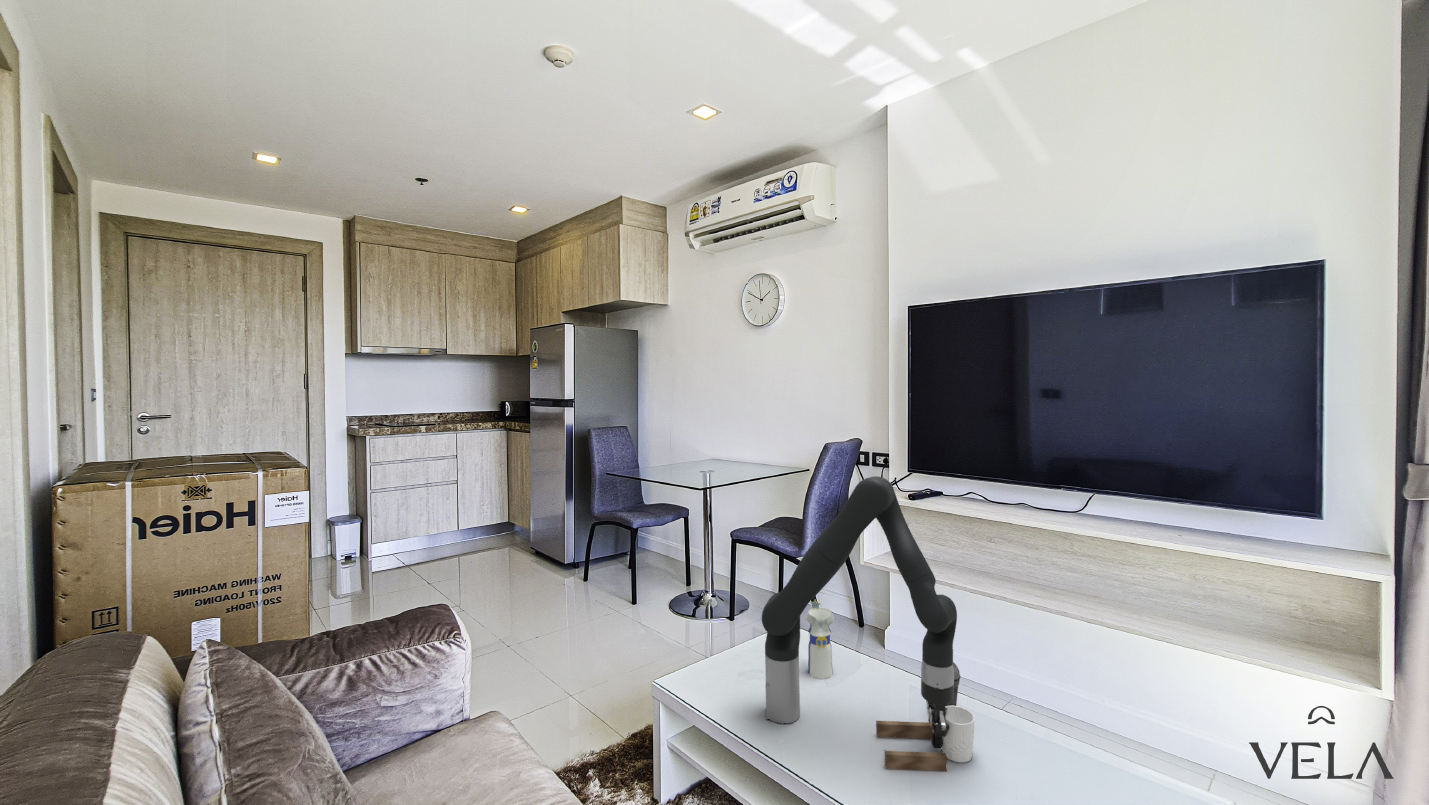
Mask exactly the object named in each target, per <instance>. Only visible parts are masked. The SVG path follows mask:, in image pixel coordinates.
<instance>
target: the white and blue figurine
mask: <svg viewBox="0 0 1429 805" xmlns="http://www.w3.org/2000/svg"><path fill="white" fill-rule="evenodd" d="M809 603H810V604H811V605H812V606H811V608H810V609H809V610H807V613H806V617H805V618H806V621H807V622H808V623H809V624H810V625H809V628H808V631H807V632H808V634H809V640H808V645H807V646H808V648H807V649H808V652H807V653H808V655H807V656H808V660H807V661H808V663H807V674H808V675H809V676H810V677H812V678H813V679H818V680H825V679H826V680H827V679H829V678H831V677H832V676H833V674H834V672H833V671H834V669H833V652H832V651H833V650H832V643H831V634H832V630H831V628H830V626H831V625H832V624H833V623H834V621H835V616H834V615H833V612H832V611H831V610H830V609H829V608H827V607H819V606H820V605H822V603H821V602H817V599H816V598H815V599H813V601H810V602H809Z"/></svg>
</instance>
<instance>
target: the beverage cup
mask: <svg viewBox="0 0 1429 805" xmlns="http://www.w3.org/2000/svg"><path fill="white" fill-rule="evenodd" d="M953 669H954V699H953V701H952V702H951V703H950V704H947V705H946V706H957V705H958V704H957V702H958V692H959V685H960V679H961V674H960V670H959V667H958V665H957V664H956V663H955V662H954V661H953Z"/></svg>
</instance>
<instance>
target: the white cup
mask: <svg viewBox="0 0 1429 805" xmlns="http://www.w3.org/2000/svg"><path fill="white" fill-rule="evenodd" d="M945 708H947V711H948V713H947V716H946V719H944V720H945V723H948V724H949V730H948V732H947V734H946V737H943V736H942V748H941V750H942V753H945V754H946V756H947V760H948V759H949V761H952V762H955V763H967V762H970V761H971V759H972V758H973V747H974V738H975V737H974V735H975V719H976V718H975V715H974V713H972V711H970V710H968V709H967V708H964V707H962V706H959V705H958V706H957V705H956V706H945Z"/></svg>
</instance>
